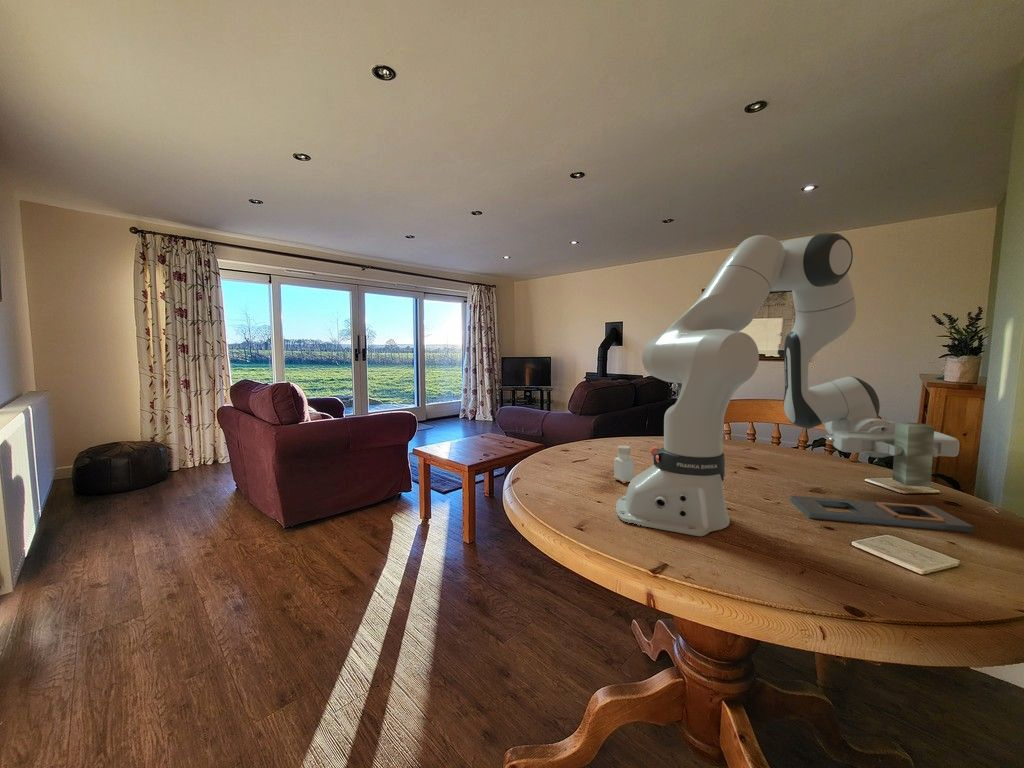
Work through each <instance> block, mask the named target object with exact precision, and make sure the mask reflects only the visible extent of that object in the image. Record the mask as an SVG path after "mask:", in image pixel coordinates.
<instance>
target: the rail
mask: <svg viewBox="0 0 1024 768" xmlns="http://www.w3.org/2000/svg"><path fill="white" fill-rule="evenodd" d="M789 500H791V501H792V502H791V501H790V502H791V503H793V505H795V506H796V507H797V508H798V509H799V511H801V512H802V513H803V514H804V515H805V516H806V517H807V518H808V519H813V520H823V521H825V520H826V521H834V522H835V521H837V522H846V523H857V524H858V523H859V524H867V525H868V524H869V525H880V526H892V527H893V526H894V527H903V528H904V527H905V528H915V529H925V530H938V531H950V532H961V533H972V534H974V530H975V529H974V528H975V526H973V525H972V524H970V523H968V522H966V521H964V520H962V519H960V518H958V517H957V516H954V515H952V514H951V513H948V512H947V511H945V510H942V509H940V508H938V507H937V506H935V505H923V504H910V503H897V502H884V501H883V502H881V501H870V500H869V501H868V500H857V499H856V500H855V499H843V498H830V497H829V498H828V497H816V496H804V495H790V499H789ZM825 507H829V508H830V507H831V508H842V509H848V510H850V511H851V512H849V511H848V512H846V511H834V510H829V509H826V508H825ZM899 513H905V514H906V513H907V514H917V515H919V516H913V515H900V514H899Z"/></svg>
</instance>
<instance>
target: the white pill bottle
mask: <svg viewBox="0 0 1024 768" xmlns="http://www.w3.org/2000/svg"><path fill="white" fill-rule="evenodd" d="M617 454H618V455H617V457H615V458H614V460H613V461H614V462H613V467H614V468H613V470H614V471H613V475H614V476H613V478H614V477H616V478H618V479H620V480H621V481H627V480H632V479H633V478H634V477H635V466H634V465H635V461H634V459H633V458H631V446H629V445H624V444H623V445H618V446H617Z"/></svg>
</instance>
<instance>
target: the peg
mask: <svg viewBox="0 0 1024 768" xmlns="http://www.w3.org/2000/svg"><path fill="white" fill-rule="evenodd" d="M894 422H895V421H894ZM934 431H935V426H934V425H930V424H925V423H922V422H921V423H920V422H899V421H898V422H895V440H894V445H897V446H900V447H903V455H902V456H897V455H894V456H893V458H892V459H893V463H892V480H893V481H895V482H897V483H900V484H901V485H903V486H905V487H906V486H909V487H924V488H926V487H927V488H931V487H932V473H933V472H932V471H933V469H932V468H933V458H934V457H933V442H934Z"/></svg>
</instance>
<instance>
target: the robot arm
mask: <svg viewBox="0 0 1024 768" xmlns="http://www.w3.org/2000/svg"><path fill="white" fill-rule="evenodd" d="M853 252H854V251H853V248H852V245H851V243H850V241H849V240H848V239H847V238H846V237H845V236H843V235H842V234H840V233H836V232H826V233H817V234H816V235H810V236H802V237H796V238H789V239H783V240H780V241H779V240H778V239H777V238H775V237H773V236H769V235H766V234H758V235H753V236H750V237H747V238H746V239H744V240H743V241H741V243H739V245H738V246H737V247H735V248H734V250H733V251H731V253H730V254H729V255H728V256H727V258H725V260H724V262H722V264H721V265H720V266H719V268H718V270H717V271H716V272H715V273H714V275H713V277H712V278H711V280H710V282H709V283H708V284H707V286H706V287H705V289H704V290H703V292H702V293H701V295H700V296H699V297H698V299H697V300H696V301H695V302H694V303H693V304H692V305H691V306H690V307H689V308H688V309H687V310H686V311H685V312H684V313H683V314H682V315H681V316H680V317H678V319H677V320H675V322H673V323H672V324H671V325H670V326H669V327H668V328H667V329H665V330H664V331H663V332H662V333H660V334H658V335H657V336H655V337H652V339H650V340H649V341H648V342H647V343H646V344H645V346H644V348H643V350H642V356H641V359H642V365H643V367H644V369H645V371H646V372H647V374H648V375H650V376H651V377H654V378H656V379H659V380H661V381H664V382H667V383H675V384H681V389H680V393H679V395H678V397H677V399H676V401H675V403H674V404H672V405H671V406H669V408H667V409H666V411H665V413H664V417H663V447H661V448H659V447H658V446H656V445H655V446H652V447H651V448H650V455H651V456H652V457H653V465H651V466H650V467H648V468H647V469H645V470H643V471H642V472H640V473H638V474H637V475H634V478H633V479H632V480H631V481H630V483H629V484H628V485H627V489H626V493H625V495H623V496H621V497H619V499H617V501H616V503H615V513H616V512H617V514H616V516H617V515H618V516H619V517H620V518H621V519H622V520H623V521H625V522H628V523H627V524H629V523H634V524H637V525H636V526H640V525H641V527H646V528H647V527H648V528H653V529H658V530H662V531H663V530H664V531H668V532H674V533H678V534H684V535H688V536H689V535H690V536H696V537H703V536H706V535H708V534H709V533H710V532H714V531H720V530H723V529H725V528H727V527H729V525H730V523H731V520H730V517H729V514H728V510H727V505H726V499H725V493H724V480H725V476H726V458H725V453H723V439H724V438H723V437H724V425H725V424H724V423H725V415H726V412H727V408H728V405H729V404H730V401H731V400H732V397H733V396H734V394H735V393H736V392H737V390H738V389H739V388H740V387H741V386H742V385H743V384H745V383H746V382H748V381H749V380H750V379H751V378H752V377H753V376H754V374H755V372H756V370H757V369H758V367H759V366H758V365H759V362H760V353H759V348H758V345H757V344H756V341H755V340H754V339H753V338H752V337H751V336H750V335H749V334H748V333H746V332H742V330H744V329H745V328H746V327H748V326H749V325H750V324H751V323H752V321H753V320H754V318H755V316H756V315H757V314H758V312H759V311H760V308H761V307H762V305H763V304H764V302H765V301H766V299H767V297H768V296H769V294H770V293H771V292H784V291H785V292H790V291H791V292H792V301H793V307H794V311H795V320H794V324H793V326H792V329H791V330H790V332H789V333H788V334H787V335H786V336H785V340H784V347H783V348H784V349H783V352H784V353H783V354H784V356H783V358H784V359H783V360H784V361H783V362H784V363H783V364H784V365H783V366H784V394H783V395H784V396H783V409H784V414H785V416H786V418H787V420H788V422H790V424H792V425H795V426H796V427H799V428H801V429H807V430H811V429H813V428H815V427H819V426H822V425H824V427H825V430H826V432H827V433H828V434H826V435H825V439H826V440H827V441H830V442H832V446H833V447H834V448H835V449H837V450H838V451H841V452H843V453H844V452H845V453H850V454H851V453H855V454H863V455H866V456H869V457H871V458H886V457H894V455H897V456H902V455H903V447H900V446H897V445H894V440H895V421H892V420H887V419H882V418H878V417H879V414H880V410H881V409H880V408H881V406H880V399H879V396H878V394H877V392H876V391H875V389H874V388H873V387H872V385H870V384H869V383H867V382H866V381H865V380H863V379H861V378H859V377H856V376H852V375H847V376H845V377H840V378H837V379H834V380H830V381H828V382H827V381H826V382H824V383H820V384H818V385H814V386H810V387H809V364H810V362H811V359H812V358H813V357H814V356H815V355H816V354H817V353H818V352H820V350H822V349H823V348H825V347H827V346H828V344H830V343H833V342H834V341H835V340H837V339H839V338H840V337H841V336H843V335H844V334H845V333H847V331H848V330H850V328H851V326H852V325H853V324H854V322H855V321H856V315H857V304H856V299H855V294H854V289H853V286H852V283H851V279H850V277H849V274H848V272H849V271H850V269H851V266H852V264H853V258H854V256H853V255H854V254H853ZM959 453H960V441H959V440H958V438H956V437H953V436H951V435H948V434H945V433H942V432H939V431H935V430H934V442H933V458H937V457H951V458H952V457H953V458H954V457H957V456H958V455H959ZM618 516H617V517H618ZM623 521H622V522H623ZM625 522H624V523H625ZM634 524H633V525H634Z"/></svg>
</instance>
